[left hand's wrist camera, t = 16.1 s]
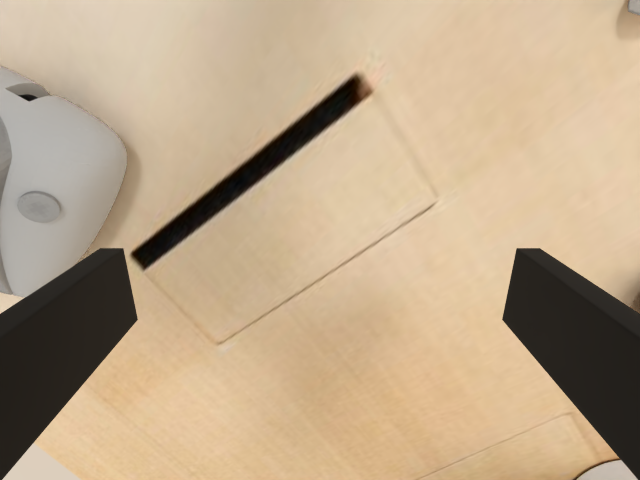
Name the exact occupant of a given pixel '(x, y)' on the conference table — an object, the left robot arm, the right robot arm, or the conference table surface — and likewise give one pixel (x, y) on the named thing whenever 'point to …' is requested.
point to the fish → (634, 6)
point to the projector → (50, 182)
